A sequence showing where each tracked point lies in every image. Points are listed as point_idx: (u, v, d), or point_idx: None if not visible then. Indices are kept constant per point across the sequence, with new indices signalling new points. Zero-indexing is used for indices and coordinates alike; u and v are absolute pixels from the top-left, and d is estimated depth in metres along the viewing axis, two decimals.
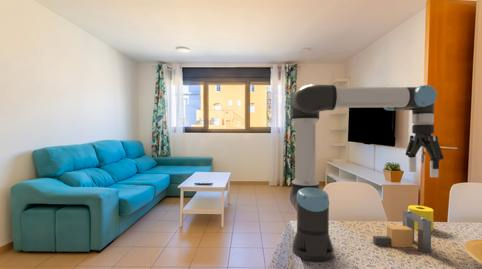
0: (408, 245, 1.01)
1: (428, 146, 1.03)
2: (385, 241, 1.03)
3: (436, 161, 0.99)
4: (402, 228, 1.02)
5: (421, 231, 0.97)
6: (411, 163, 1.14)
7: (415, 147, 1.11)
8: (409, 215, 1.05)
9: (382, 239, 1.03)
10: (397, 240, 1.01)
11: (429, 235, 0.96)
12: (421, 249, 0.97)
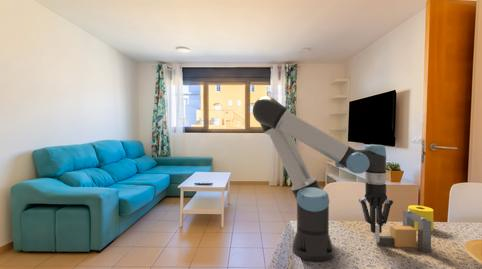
0: (411, 245, 1.01)
1: (370, 208, 1.04)
2: (388, 241, 1.03)
3: (370, 224, 1.04)
4: (405, 228, 1.02)
5: (421, 231, 0.97)
6: None
7: (376, 208, 1.04)
8: (409, 215, 1.05)
9: (385, 239, 1.03)
10: (401, 240, 1.01)
11: (429, 235, 0.96)
12: (421, 249, 0.97)
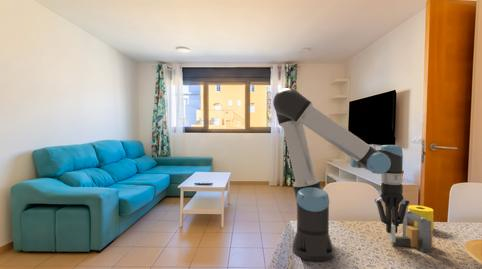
0: None
1: (386, 208, 1.04)
2: (404, 241, 1.02)
3: (386, 224, 1.04)
4: None
5: (421, 231, 0.97)
6: None
7: (392, 208, 1.04)
8: (409, 215, 1.05)
9: (401, 239, 1.02)
10: (417, 240, 1.01)
11: (429, 235, 0.96)
12: (421, 249, 0.97)
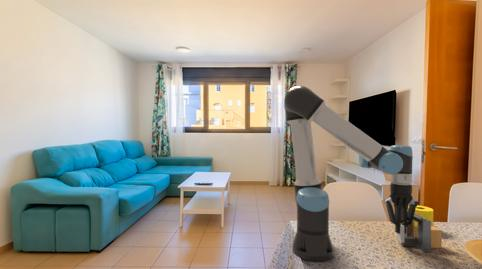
0: (437, 246, 1.01)
1: (395, 208, 1.04)
2: (413, 242, 1.02)
3: (395, 225, 1.04)
4: None
5: (421, 231, 0.97)
6: None
7: (401, 208, 1.04)
8: None
9: (410, 240, 1.02)
10: None
11: (429, 235, 0.96)
12: (421, 249, 0.97)
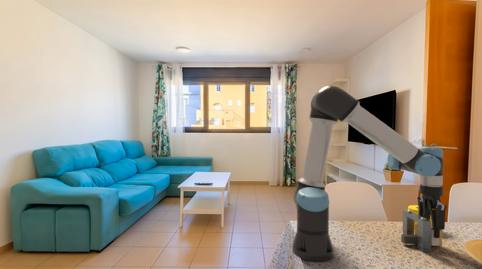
0: None
1: (434, 212, 1.00)
2: (414, 240, 1.02)
3: (437, 230, 0.99)
4: (431, 227, 1.02)
5: (421, 231, 0.97)
6: None
7: (426, 210, 1.04)
8: (409, 215, 1.05)
9: (411, 238, 1.02)
10: None
11: (429, 235, 0.96)
12: (421, 249, 0.97)
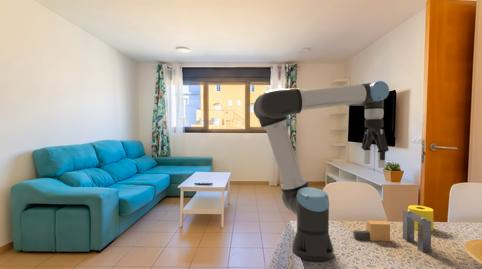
0: (386, 239, 1.07)
1: (377, 139, 1.11)
2: (364, 235, 1.08)
3: (382, 153, 1.07)
4: (380, 223, 1.08)
5: (421, 231, 0.97)
6: (365, 155, 1.21)
7: (368, 140, 1.19)
8: (409, 215, 1.05)
9: (361, 233, 1.08)
10: (375, 234, 1.07)
11: (429, 235, 0.96)
12: (421, 249, 0.97)
